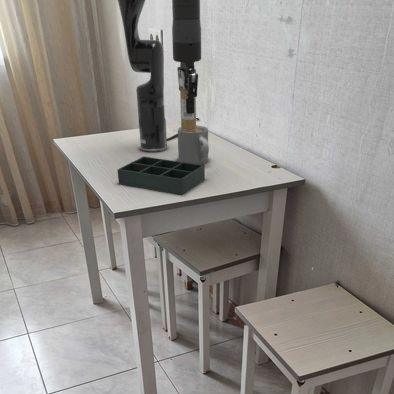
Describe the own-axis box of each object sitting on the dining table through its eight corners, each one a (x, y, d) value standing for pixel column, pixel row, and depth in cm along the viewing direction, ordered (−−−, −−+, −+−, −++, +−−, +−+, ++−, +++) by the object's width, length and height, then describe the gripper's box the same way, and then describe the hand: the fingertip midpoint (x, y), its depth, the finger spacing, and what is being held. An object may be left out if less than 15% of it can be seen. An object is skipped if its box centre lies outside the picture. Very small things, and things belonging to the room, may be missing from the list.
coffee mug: (174, 158, 164) (173, 126, 158) (201, 155, 167) (201, 124, 160) (187, 169, 154) (187, 136, 148) (216, 166, 157) (216, 133, 151)
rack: (144, 170, 154) (143, 156, 151) (204, 179, 146) (204, 165, 143) (118, 184, 144) (117, 169, 141) (182, 195, 136) (181, 179, 133)
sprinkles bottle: (198, 129, 139) (198, 76, 131) (192, 133, 136) (192, 79, 127) (184, 127, 140) (183, 75, 132) (178, 131, 137) (176, 78, 129)
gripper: (167, 37, 129) (169, 107, 140) (179, 43, 118) (181, 118, 129) (193, 36, 131) (194, 105, 141) (208, 41, 120) (207, 116, 130)
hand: (188, 111), depth 135 cm, fingers closed on sprinkles bottle, 4 cm apart
